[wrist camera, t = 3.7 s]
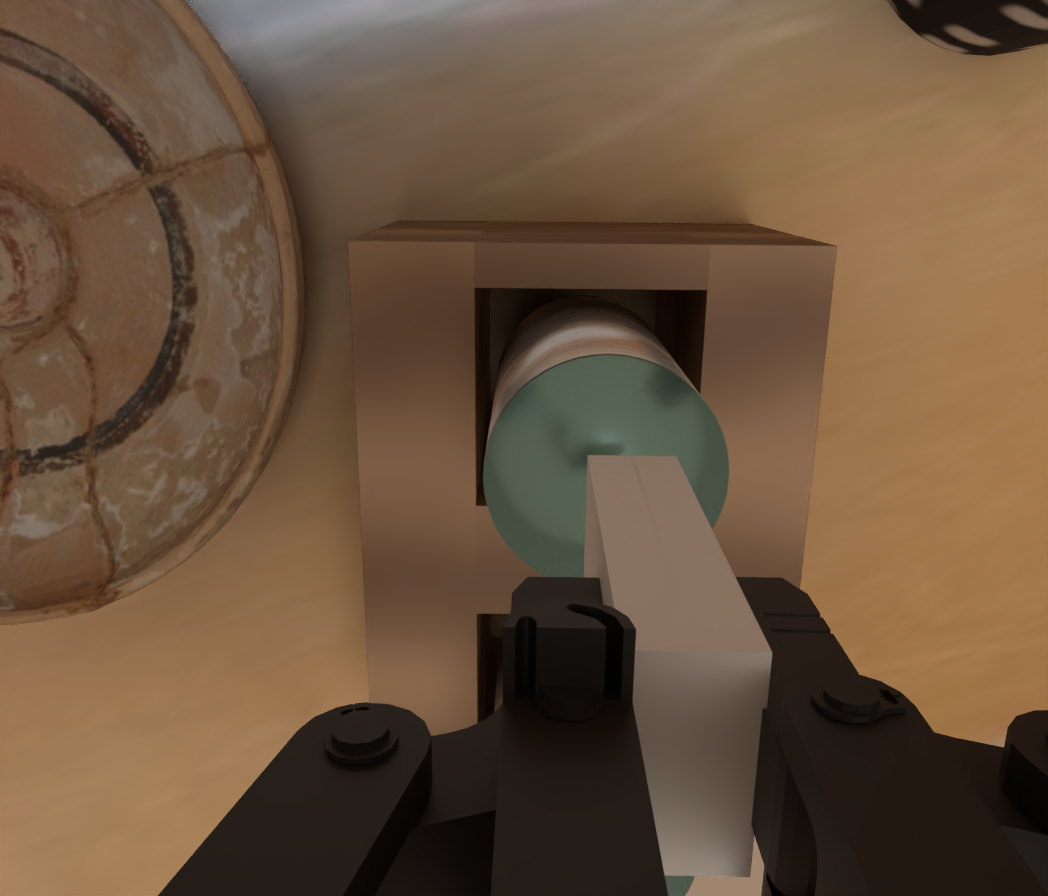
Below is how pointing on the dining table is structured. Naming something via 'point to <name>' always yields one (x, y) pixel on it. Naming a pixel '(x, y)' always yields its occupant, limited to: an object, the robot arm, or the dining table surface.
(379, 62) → the dining table surface
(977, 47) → the white-spotted black cylinder
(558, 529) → the peg
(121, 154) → the ceramic bowl
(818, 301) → the walnut block
